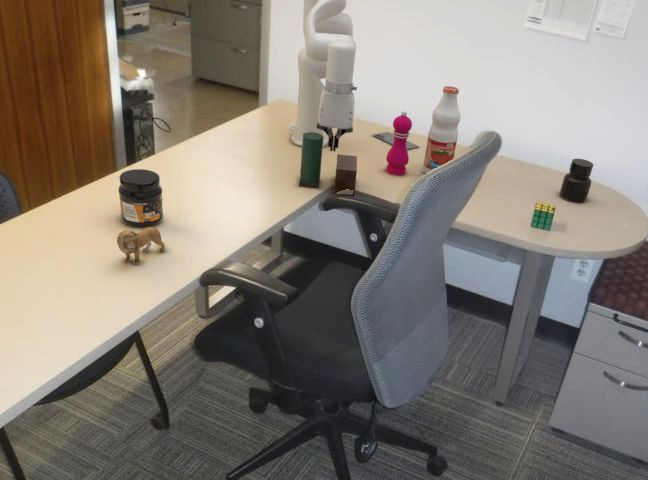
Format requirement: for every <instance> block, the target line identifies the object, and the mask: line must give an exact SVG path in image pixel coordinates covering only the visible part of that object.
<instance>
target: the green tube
mask: <svg viewBox="0 0 648 480" xmlns="http://www.w3.org/2000/svg"><path fill="white" fill-rule="evenodd" d="M323 148H324V147H323V135H321V134H319V133H314V132H307V133H304V134H303V141H302V146H301V157H300V158H301V159H300V172H299V173H300V174H299V181H298V187H302V188H312V189H320V183H321V170H322V157H323Z"/></svg>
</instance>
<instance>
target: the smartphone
mask: <svg viewBox="0 0 648 480" xmlns="http://www.w3.org/2000/svg"><path fill="white" fill-rule="evenodd" d="M372 136H373V137H375V138H377V139H379V140H381V141H383V142H385V143H387V144H389V145H392V146H393V143H394V135H393V133H391V132H389V131H385V132H380V133H375V134H373V135H372ZM416 148H419V145H417V144H414V143H412V142H410V141H408V140H406V149H407V150H411V149H416Z"/></svg>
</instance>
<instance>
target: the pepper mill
mask: <svg viewBox="0 0 648 480" xmlns="http://www.w3.org/2000/svg"><path fill="white" fill-rule="evenodd" d="M407 115H408V113H407V112H406V110H405V111H404V110H403V111H401V113H400V115H398V116H396V117H395V118H394V119H393V122H392V127H393V128H394V130H393V133H392V134H393V135H394V143H393V145H392V146H391V147H390V149H389V150H388V152H387V154H386V162H387V164H386V168H385V170H386V173H388V174H390V175H393V176H404V175H405V174H406V170H407V167H406V166H407V165H408V164H409V161H410V157H409V152H408V149H406V141H408V138H409V137H410V136H409V135H410V131H411V130H412V127H413V122H412V120H411V118H410V117H408V116H407Z"/></svg>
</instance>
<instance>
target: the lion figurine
mask: <svg viewBox="0 0 648 480" xmlns="http://www.w3.org/2000/svg"><path fill="white" fill-rule="evenodd" d="M152 242H153V243H154V244H155V245H158V246H160V248H159V252H161V253H164V252H165V250H166V249H165V243H164V241H162V236H161V232H160V230H159V229H158V228H157V227H154V226H150V227H144V228H143V229H142V230H140V231H139V232H135V231H134V230H123V231H121V232H119V233H118V235H117V236H116V243H117V246H118V249H119V250H120V251H121V252H122V253H123V254H125V258H124V263H125V262H126V263H128V262H130V261H131V255H132V254H134V264H135V265H140V264H141V259H140V250H141V248H143V249H142V252H144V253H146V252H147V253H148V251H150V248H151V246H152ZM144 247H145V248H144Z"/></svg>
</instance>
